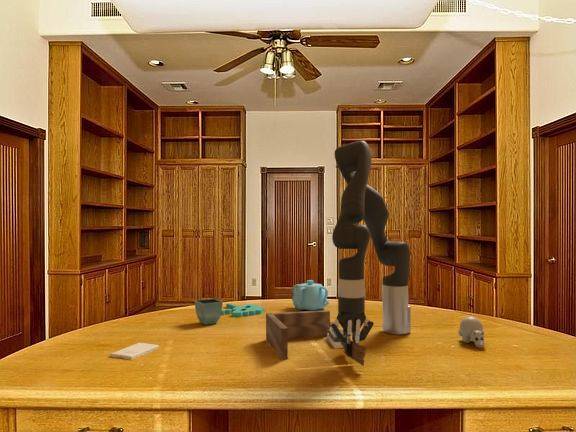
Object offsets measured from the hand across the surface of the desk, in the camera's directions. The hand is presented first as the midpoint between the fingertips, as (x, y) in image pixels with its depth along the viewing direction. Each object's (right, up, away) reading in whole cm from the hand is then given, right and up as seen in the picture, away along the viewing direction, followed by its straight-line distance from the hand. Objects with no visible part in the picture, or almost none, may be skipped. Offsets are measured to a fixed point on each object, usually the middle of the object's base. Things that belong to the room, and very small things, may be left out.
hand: (351, 355), depth 120 cm
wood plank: (0, -1, 0) cm, 1 cm away
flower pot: (-50, -4, +50) cm, 71 cm away
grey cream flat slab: (-1, -4, +20) cm, 21 cm away
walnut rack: (-13, -3, +17) cm, 22 cm away
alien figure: (-39, -5, +72) cm, 82 cm away
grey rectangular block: (-1, -1, +20) cm, 20 cm away
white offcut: (-1, -2, +20) cm, 20 cm away
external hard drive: (-65, -3, +11) cm, 66 cm away
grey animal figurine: (+43, -3, +20) cm, 48 cm away
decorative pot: (-8, -4, +78) cm, 79 cm away
